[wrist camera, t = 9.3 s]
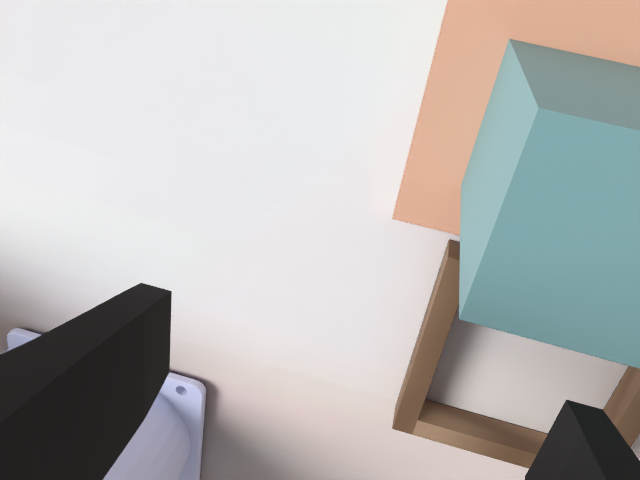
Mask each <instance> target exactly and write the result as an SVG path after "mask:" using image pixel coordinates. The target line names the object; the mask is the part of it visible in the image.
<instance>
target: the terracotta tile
mask: <svg viewBox="0 0 640 480" xmlns="http://www.w3.org/2000/svg"><path fill="white" fill-rule="evenodd" d="M509 39H513V40H517V41H522V42H527V43H531V44H536V45H541V46H545V47H550V48H555V49H559V50H564V51H569V52H573V53H578V54H583V55H587V56H592V57H596V58H601V59H606V60H610V61H615V62H620V63H624V64H629V65H634V66H638V67H640V0H448V2H447V6H446V10H445V14H444V18H443V22H442V26H441V30H440V34H439V38H438V42H437V45H436V49H435V53H434V57H433V61H432V65H431V69H430V73H429V77H428V81H427V85H426V89H425V93H424V96H423V100H422V104H421V108H420V112H419V116H418V120H417V124H416V128H415V132H414V136H413V140H412V144H411V147H410V151H409V155H408V159H407V163H406V167H405V171H404V175H403V179H402V183H401V187H400V191H399V195H398V199H397V202H396V206H395V210H394V214H393V218H392V219H395V220H399V221H403V222H407V223H411V224H416V225H420V226H424V227H428V228H432V229H436V230H440V231H444V232H448V233H452V234H456V235H460V213H461V184H462V181H463V178H464V175H465V172H466V169H467V165H468V162H469V159H470V156H471V153H472V150H473V147H474V144H475V141H476V138H477V135H478V132H479V129H480V126H481V123H482V120H483V117H484V114H485V111H486V108H487V105H488V101H489V98H490V95H491V92H492V89H493V86H494V83H495V80H496V77H497V74H498V71H499V68H500V65H501V62H502V59H503V56H504V53H505V50H506V47H507V44H508V41H509Z"/></svg>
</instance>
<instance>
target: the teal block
mask: <svg viewBox="0 0 640 480" xmlns="http://www.w3.org/2000/svg"><path fill="white" fill-rule="evenodd" d="M459 319H460V320H463V321H467V322H471V323H474V324H478V325H482V326H485V327H489V328H493V329H496V330H500V331H504V332H507V333H511V334H515V335H518V336H522V337H526V338H529V339H533V340H537V341H540V342H544V343H548V344H551V345H555V346H558V347H562V348H566V349H569V350H573V351H577V352H580V353H584V354H588V355H591V356H595V357H599V358H602V359H606V360H610V361H613V362H617V363H621V364H624V365H628V366H632V367H635V368H639V369H640V67H638V66H634V65H629V64H624V63H620V62H615V61H610V60H606V59H601V58H596V57H592V56H587V55H583V54H578V53H573V52H569V51H564V50H559V49H555V48H550V47H545V46H541V45H536V44H531V43H527V42H522V41H517V40H513V39H509V41H508V44H507V47H506V50H505V53H504V56H503V59H502V62H501V65H500V68H499V71H498V74H497V77H496V80H495V83H494V86H493V89H492V92H491V95H490V98H489V101H488V105H487V108H486V111H485V114H484V117H483V120H482V123H481V126H480V129H479V132H478V135H477V138H476V141H475V144H474V147H473V150H472V153H471V156H470V159H469V162H468V165H467V169H466V172H465V175H464V178H463V181H462V184H461V213H460V280H459Z"/></svg>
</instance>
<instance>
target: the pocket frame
mask: <svg viewBox="0 0 640 480" xmlns="http://www.w3.org/2000/svg"><path fill="white" fill-rule="evenodd" d="M459 280H460V242H457V241H453V240H449V241H448V244H447V247H446V251H445V254H444V257H443V260H442V263H441V266H440V269H439V272H438V276H437V279H436V282H435V285H434V288H433V291H432V294H431V297H430V300H429V304H428V307H427V310H426V313H425V316H424V319H423V322H422V325H421V329H420V332H419V335H418V338H417V341H416V344H415V347H414V350H413V353H412V357H411V360H410V363H409V366H408V369H407V372H406V375H405V378H404V382H403V385H402V388H401V391H400V394H399V397H398V400H397V403H396V407H395V413H394V420H393V427H392V429H395V430H399V431H402V432H405V433H409V434H412V435H416V436H419V437H423V438H426V439H429V440H433V441H436V442H440V443H443V444H447V445H450V446H454V447H457V448H460V449H464V450H467V451H471V452H474V453H478V454H481V455H485V456H488V457H491V458H495V459H498V460H502V461H505V462H509V463H512V464H515V465H519V466H522V467H526V468H530V467H531V465H532V463H533V461H534V459H535V457H536V455H537V454H538V452H539V450H540V448H541V446H542V444H543V442H544V440H545V439H546V437H547V435H548V434H545V433H542V432H538V431H535V430H531V429H528V428H524V427H521V426H517V425H513V424H510V423H506V422H503V421H499V420H496V419H492V418H489V417H485V416H482V415H478V414H475V413H471V412H468V411H464V410H460V409H457V408H453V407H450V406H446V405H443V404H439V403H436V402H432V401H429V400H425V398H426V395H427V392H428V389H429V387H430V384H431V381H432V378H433V375H434V373H435V370H436V367H437V364H438V361H439V358H440V356H441V353H442V350H443V347H444V344H445V342H446V339H447V336H448V333H449V330H450V328H451V325H452V322H453V319H454V316H455V313H456V311H457V308H458V305H459ZM603 410H604V412H605V413H606V414H607V416H608V417H609V418H610V420H611V421H612V422H613V424H614V425H615V427H616V428H617V429H618V431H619V432H620V434H621V435H622V437H623V438H624V439H625V441H626V442H627V444H628V445H629V447H631V445H632V444H633V442H634V441H635V439H636V438H637V436H638V435H639V433H640V369H639V368H635V367H632V366H629V367H628V369H627V371H626V372H625V374H624V376H623V377H622V379H621V381H620V382H619V384H618V386H617V387H616V389H615V391H614V392H613V394H612V396H611V398H610V399H609V401H608V403H607V404H606V406H605V408H604V409H603Z"/></svg>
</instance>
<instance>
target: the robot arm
mask: <svg viewBox="0 0 640 480" xmlns="http://www.w3.org/2000/svg"><path fill="white" fill-rule="evenodd" d="M170 327H171V291H169V290H165V289H161V288H158V287H154V286H150V285H147V284H143V283H140V284H138V285H136V286H134V287H132V288H130V289H128V290H126V291H124V292H122V293H120V294H119V295H117V296H115V297H113V298H111V299H109V300H107V301H106V302H104V303H102V304H100V305H98V306H96V307H94V308H93V309H91V310H89V311H87V312H85V313H83V314H81V315H79V316H77V317H76V318H74V319H72V320H70V321H68V322H66V323H64V324H62V325H60V326H58V327H56V328H54V329H52V330H50V331H49V332H47V333H45V334H43V335H41V334H37V333H34V332H30V331H27V330H24V329H20V328H15V329H13V330H11V331H10V332H9V333H8V334H7V343H8V349H7V350H6V351H5V352H4V353H3V354H1V355H0V480H200V467H201V454H202V440H203V427H204V413H205V400H206V388H205V386H204V385H203V384H202V383H201V382H200V381H197V380H195V379H191V378H188V377H184V376H181V375H177V374H174V373H171V372H169V364H170ZM183 387H184V388H183ZM525 480H640V461H639V460H638V458H637V457H636V455H635V454H634V452H633V451H632V450H631V448H630V447H629V445H628V444H627V442H626V441H625V439H624V438H623V437H622V435H621V434H620V432H619V431H618V429H617V428H616V427H615V425H614V424H613V422H612V421H611V420H610V418H609V417H608V416H607V414H606V413H605V412H604V410H602V409H598V408H595V407H591V406H587V405H584V404H580V403H577V402H573V401H569V400H566V401H565V403H564V405H563V407H562V409H561V411H560V413H559V414H558V416H557V418H556V420H555V422H554V424H553V426H552V427H551V429H550V431H549V433H548V435H547V437H546V439H545V440H544V442H543V444H542V446H541V448H540V450H539V452H538V454H537V455H536V457H535V459H534V461H533V463H532V465H531V467H530V468H529V470H528V472H527V474H526V476H525Z"/></svg>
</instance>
